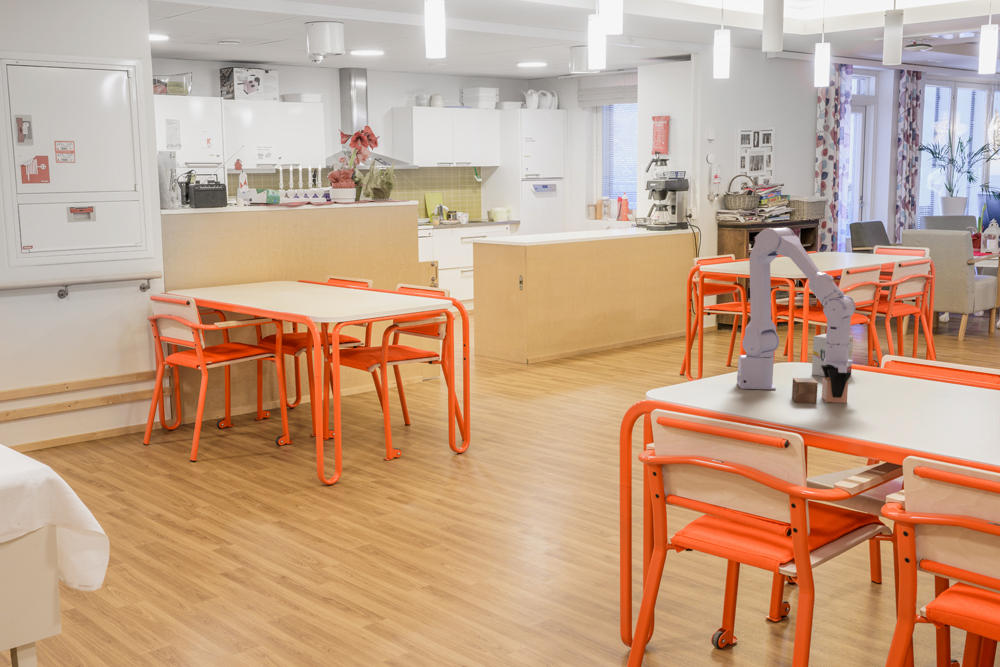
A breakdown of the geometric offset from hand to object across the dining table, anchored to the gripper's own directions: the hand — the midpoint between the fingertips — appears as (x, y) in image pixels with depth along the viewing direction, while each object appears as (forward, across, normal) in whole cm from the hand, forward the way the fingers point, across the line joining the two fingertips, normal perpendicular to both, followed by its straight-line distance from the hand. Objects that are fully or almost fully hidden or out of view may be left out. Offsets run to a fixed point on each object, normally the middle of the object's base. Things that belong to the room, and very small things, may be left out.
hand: (834, 394), depth 245 cm
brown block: (+1, -2, +8) cm, 8 cm away
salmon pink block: (+1, 0, 0) cm, 1 cm away
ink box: (+2, +34, -7) cm, 35 cm away
